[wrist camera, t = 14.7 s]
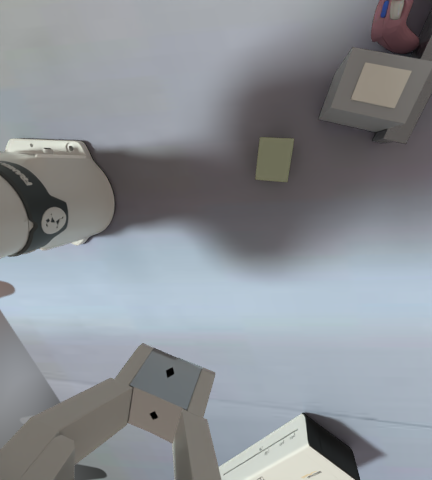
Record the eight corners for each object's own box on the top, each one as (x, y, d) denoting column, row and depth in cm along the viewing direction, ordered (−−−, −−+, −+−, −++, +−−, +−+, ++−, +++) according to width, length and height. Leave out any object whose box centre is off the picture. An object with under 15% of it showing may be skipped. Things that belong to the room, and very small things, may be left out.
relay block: (257, 177, 34) (255, 179, 30) (261, 140, 32) (259, 137, 28) (285, 179, 33) (287, 182, 29) (291, 141, 31) (294, 138, 27)
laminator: (305, 409, 46) (309, 444, 40) (355, 446, 46) (366, 487, 40) (211, 470, 59) (204, 503, 53) (250, 499, 59) (247, 535, 53)
